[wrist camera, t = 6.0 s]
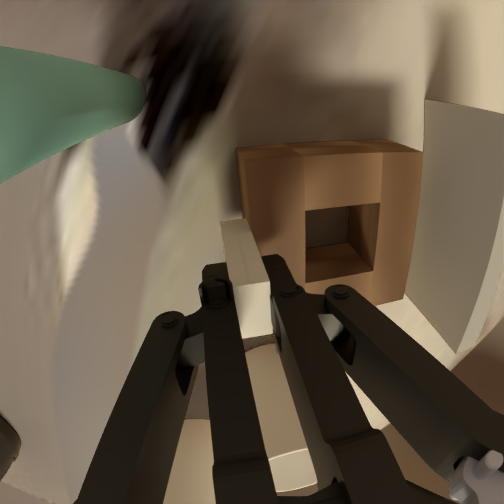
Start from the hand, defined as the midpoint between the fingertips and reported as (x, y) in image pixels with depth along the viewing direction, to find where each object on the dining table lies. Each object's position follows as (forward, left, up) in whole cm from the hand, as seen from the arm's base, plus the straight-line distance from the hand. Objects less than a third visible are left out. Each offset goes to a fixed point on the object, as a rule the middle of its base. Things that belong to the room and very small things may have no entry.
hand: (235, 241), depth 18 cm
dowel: (-6, +9, -2) cm, 11 cm away
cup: (+2, -16, -2) cm, 16 cm away
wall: (+15, 0, -2) cm, 15 cm away
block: (+6, 0, -2) cm, 6 cm away
